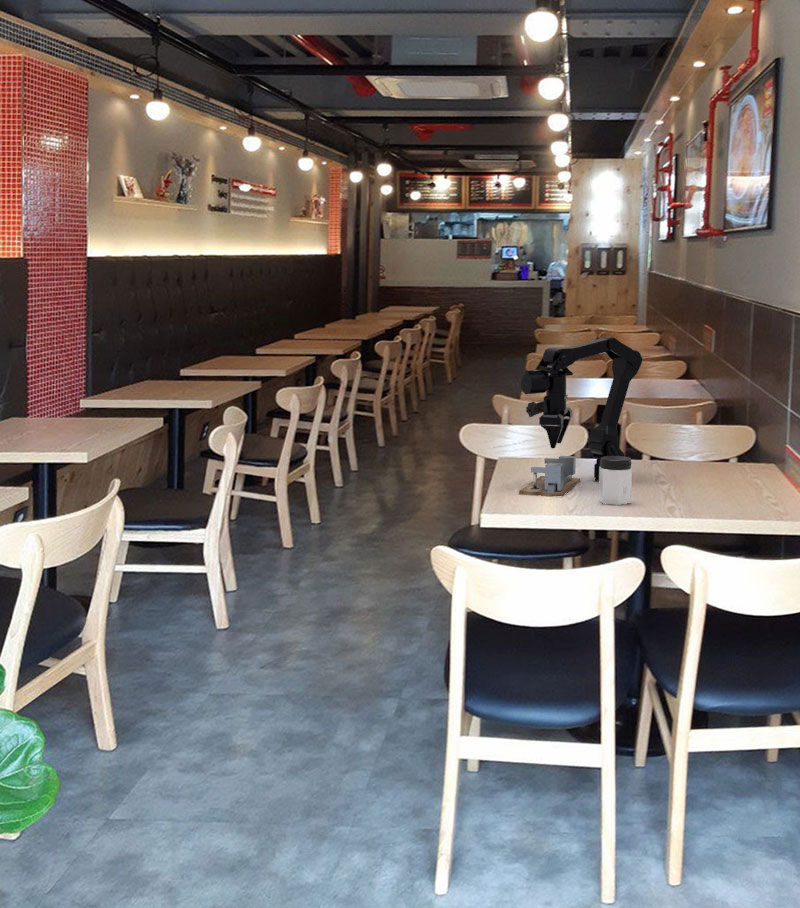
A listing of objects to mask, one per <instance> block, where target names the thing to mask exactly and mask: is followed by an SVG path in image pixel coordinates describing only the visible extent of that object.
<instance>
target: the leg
mask: <svg viewBox="0 0 800 908" xmlns="http://www.w3.org/2000/svg"><path fill="white" fill-rule="evenodd" d="M530 473H532V477H533V478H532V479H533V480H532V481H533V488H537V478H538V474H544V476H545V490H547V485H549V484H550V483H555V484H557V491H561V490H562V489H563V488H564V464H560V463H548V464H545V465H544V466H531V467H530Z"/></svg>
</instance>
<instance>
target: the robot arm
mask: <svg viewBox="0 0 800 908" xmlns="http://www.w3.org/2000/svg"><path fill="white" fill-rule="evenodd" d="M604 353H605V355H606V356H607V358H609V359H610V360H611V361H612V364H611V368H612V374H613V375H612V376H613V379H612V381H611V386H610V389H609V392H608V396H607V400H606V402H605V406H604V409H603V413H602V416H601V420H600V422H599V425H598V426H596V427H591V428H590V433H589V436H588V438H587V441H588V445H587V446H588V449H589V451H590V452H591V455H592V458H593V459H596V463H594V467H593V468H594V470H593V471H594V472H593V473H594V474H593V478H594V481H595V482H599V467H600V460H601V457H604V456H624V457H625V452H623V450H622V449H621V448H620V447H619V446H618V444H619V433H618V428H617V427H618V425H619V420H620V417H621V414H622V411H623V407H624V404H625V400H626V397H627V393H628V389H629V387H630V382H631V381H632V380H633V379H634V378H635V377H636V376H637V374H638V373H639V370H640V368H641V365H642V364H643V356H642V354H641V352H639V351H638V350H635V349H632V348H631V347H630V346H628V345H626V344H625V343H622V342H621V341H620V340H619V339H617V338H616V337H613V336H603V337H601V338H598V339H594V340H591V341H586V342H584V343H579V344H575V345H572V346H556V347H555V346H554V347H548V348H546V349H545V350H544V352H543V354H542V358H541V359H540V361H539V363H538V365H536V367H535V369H533V370H532V369H525V370H524V374H523V376H522V377H521V380H520V389H521V391H522V393H523V394H525V395H534V394H544V393H545V395H544V396H543V400H541V401H538V402H535V401H531V402H528V403H527V406H525V412H526V414H528V417H529V418H533V417H534V416H537V415H539V414H542V415H541V416H540V417H539V418H538V421H539V422H538V424H539V425H540V427H541V428H542V429H544V430H545V431H546V434H547V437H548V441H549V445H550V448H551V449H555V448H556V446H557V444H562V442H563V439H564V438H565V437H564V436H565V435H566V432H567V430H568V427H569V426H570V422H571V420H572V417H573V410H572V408H571V407H569V406H568V407H567V399H568V396H569V395H568V394H567V377H569V376H573V375H574V372H572V371H571V370H570V369H569V368H568V367H570V366H572V365H573V364H575V363H576V362H578V361H579V360H583V359H585V358H589V357H592V356H596V355H601V354H604Z"/></svg>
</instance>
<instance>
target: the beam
mask: <svg viewBox="0 0 800 908" xmlns="http://www.w3.org/2000/svg"><path fill="white" fill-rule="evenodd" d="M576 458H577V456H576V455H575V456H571V455H560V456H558V458H556V457H555V458H553V457H545V458H544V464H545V465H546V464H548V463H560V464H564V485H565V484H567V483H568V482H569V481H570V480H572V478H573V476H574V475H575V474H576V467H577V464H576V463H577V462H576V461H577V459H576ZM556 491H557V484H555V483H550V484H549V485H547V493H555V492H556Z"/></svg>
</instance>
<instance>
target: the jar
mask: <svg viewBox="0 0 800 908" xmlns="http://www.w3.org/2000/svg"><path fill="white" fill-rule="evenodd" d="M632 479H633V468H632V458H631V457H629V456H625V455H624V456H604V457H601V460H600V467H599V481H598V499H597V500H598V501H599V502H600V503H601V504H602V503H603V504H602V505H609V504H618V505H617V506H620V505H619V504H624V505H628V504H627V503H630V504H631V503H632V487H633V486H632V485H633V484H632V483H633V482H632V481H633V480H632ZM605 503H606V504H605Z"/></svg>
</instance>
